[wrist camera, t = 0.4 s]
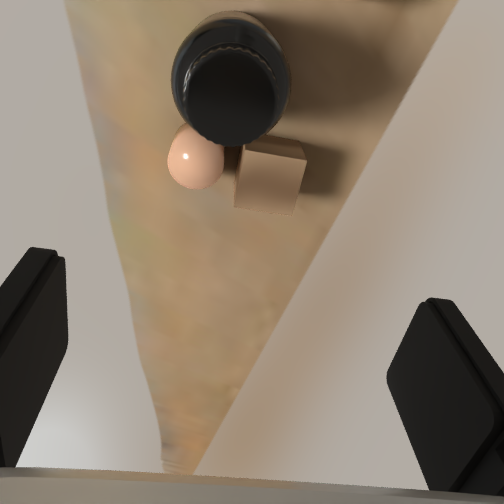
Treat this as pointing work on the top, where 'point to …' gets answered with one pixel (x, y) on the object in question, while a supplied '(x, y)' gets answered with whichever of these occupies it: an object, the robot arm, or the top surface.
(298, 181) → the walnut block
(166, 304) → the top surface
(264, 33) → the supplement bottle
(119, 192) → the top surface
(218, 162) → the peach rounded dome
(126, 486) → the robot arm
